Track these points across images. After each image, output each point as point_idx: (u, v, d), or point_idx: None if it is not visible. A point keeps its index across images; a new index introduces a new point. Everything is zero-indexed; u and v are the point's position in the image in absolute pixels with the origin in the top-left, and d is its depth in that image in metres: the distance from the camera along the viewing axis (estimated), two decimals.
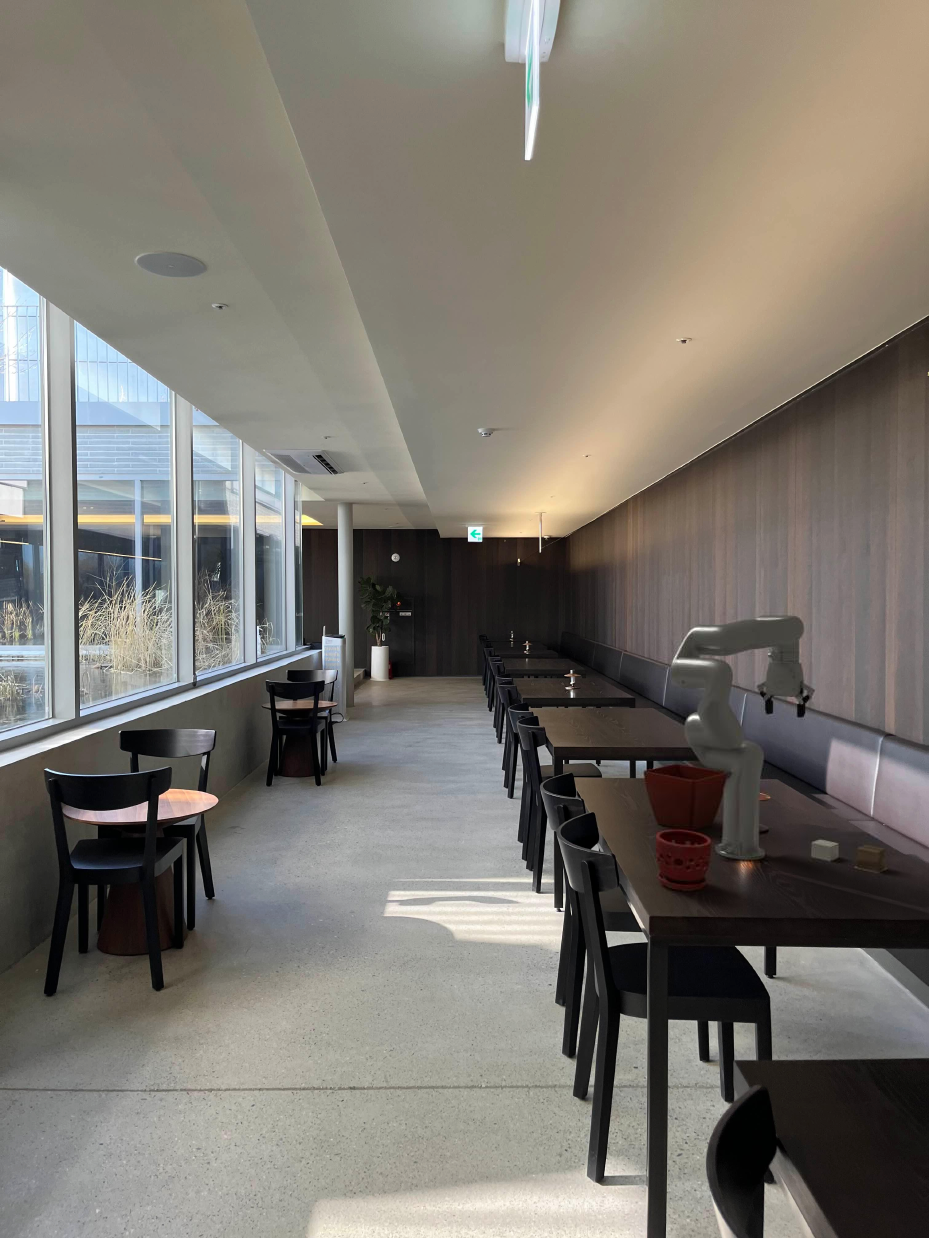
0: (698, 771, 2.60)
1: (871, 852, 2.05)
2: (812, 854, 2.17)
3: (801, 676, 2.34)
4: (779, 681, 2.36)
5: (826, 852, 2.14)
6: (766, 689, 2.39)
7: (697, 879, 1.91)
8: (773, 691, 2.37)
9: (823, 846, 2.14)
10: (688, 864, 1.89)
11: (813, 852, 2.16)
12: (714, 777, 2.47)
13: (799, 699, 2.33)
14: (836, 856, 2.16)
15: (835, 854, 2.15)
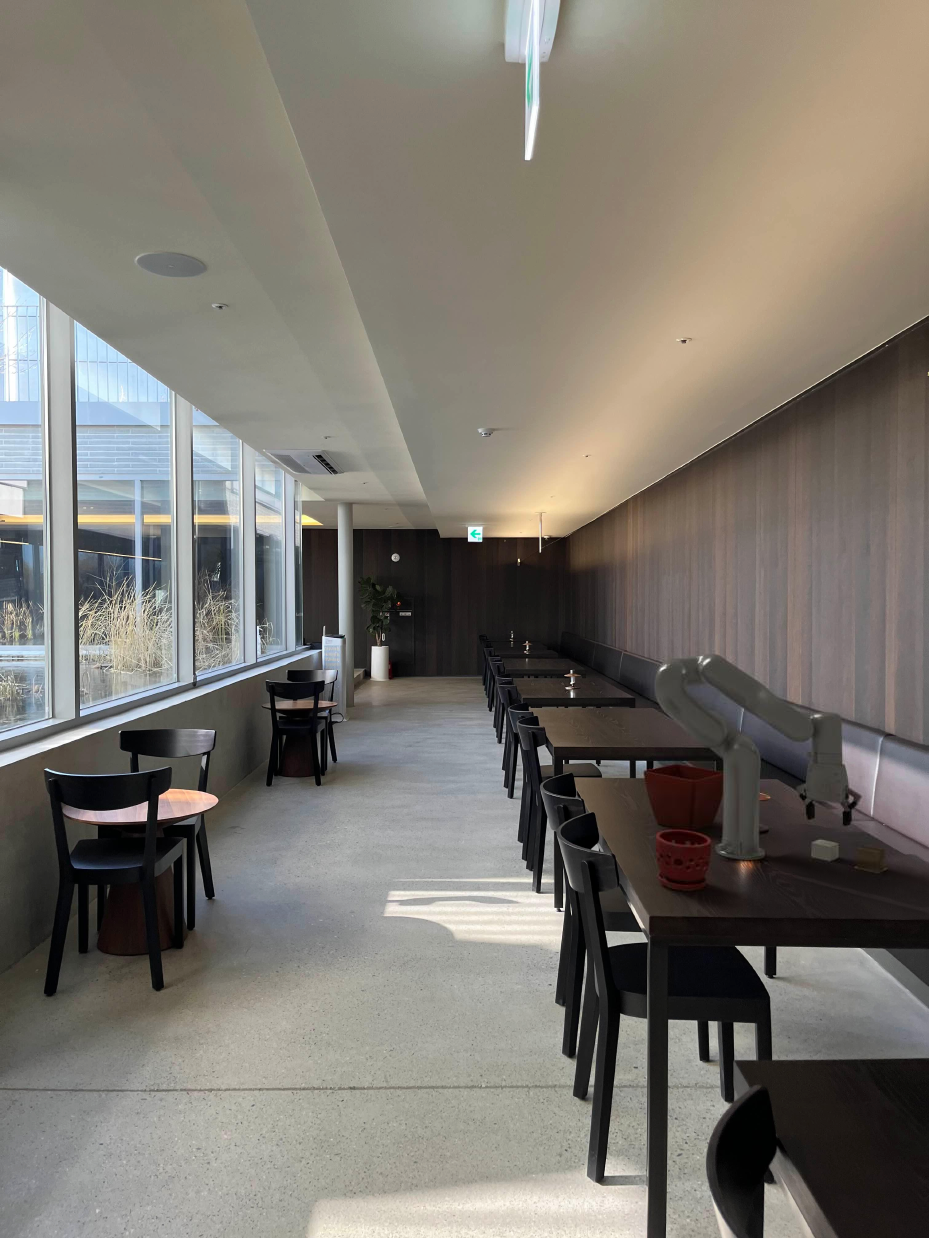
0: (698, 771, 2.60)
1: (871, 852, 2.05)
2: (812, 854, 2.17)
3: (846, 780, 2.13)
4: (822, 785, 2.15)
5: (826, 852, 2.14)
6: (807, 793, 2.18)
7: (697, 879, 1.91)
8: (815, 795, 2.16)
9: (823, 846, 2.14)
10: (688, 864, 1.89)
11: (813, 852, 2.16)
12: (714, 777, 2.47)
13: (845, 806, 2.12)
14: (836, 856, 2.16)
15: (835, 854, 2.15)
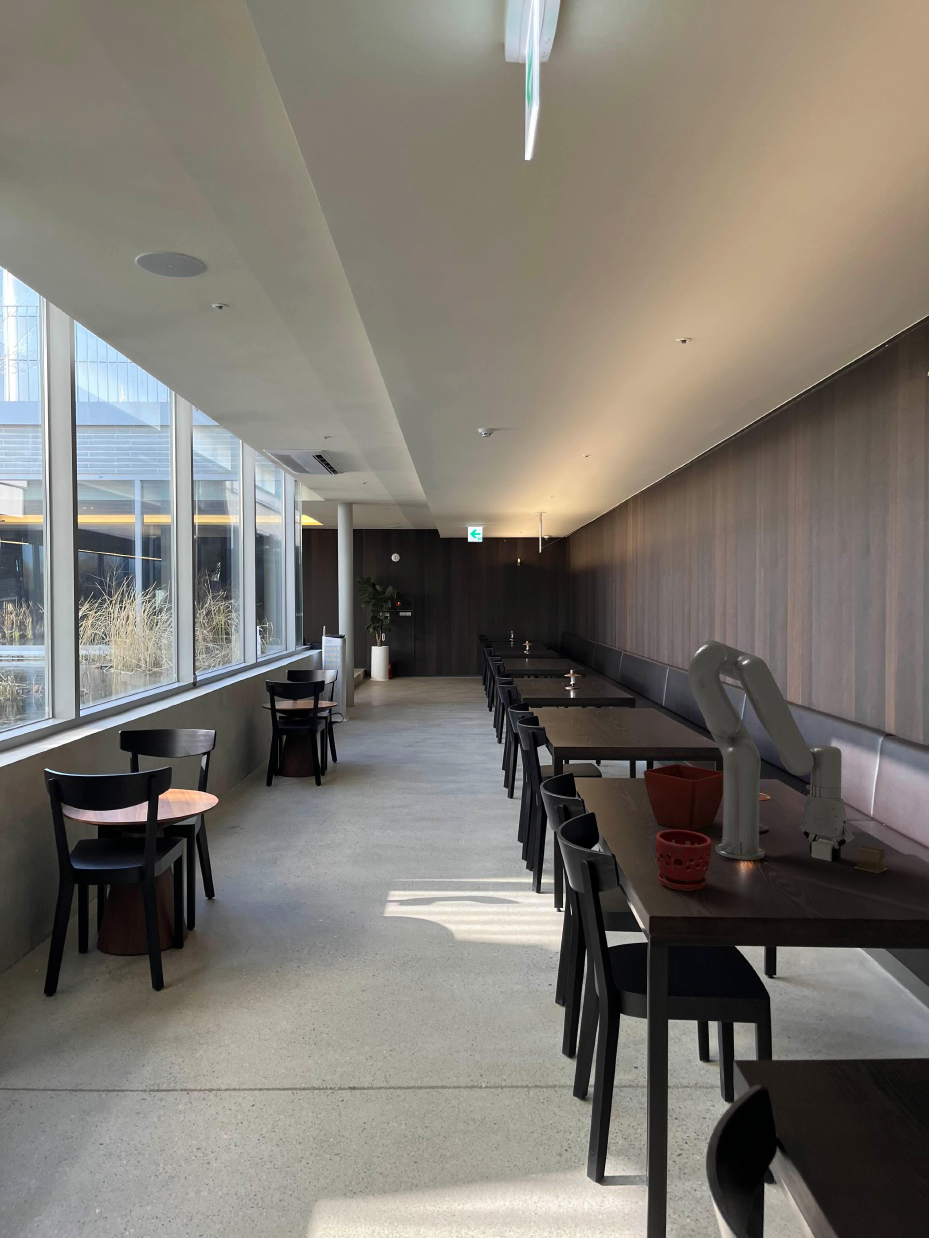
0: (698, 771, 2.60)
1: (871, 852, 2.05)
2: (812, 854, 2.17)
3: (844, 814, 2.13)
4: (819, 819, 2.15)
5: (826, 852, 2.14)
6: (804, 825, 2.18)
7: (697, 879, 1.91)
8: (812, 829, 2.16)
9: (823, 846, 2.14)
10: (688, 864, 1.89)
11: (813, 852, 2.16)
12: (714, 777, 2.47)
13: (835, 842, 2.13)
14: None
15: None
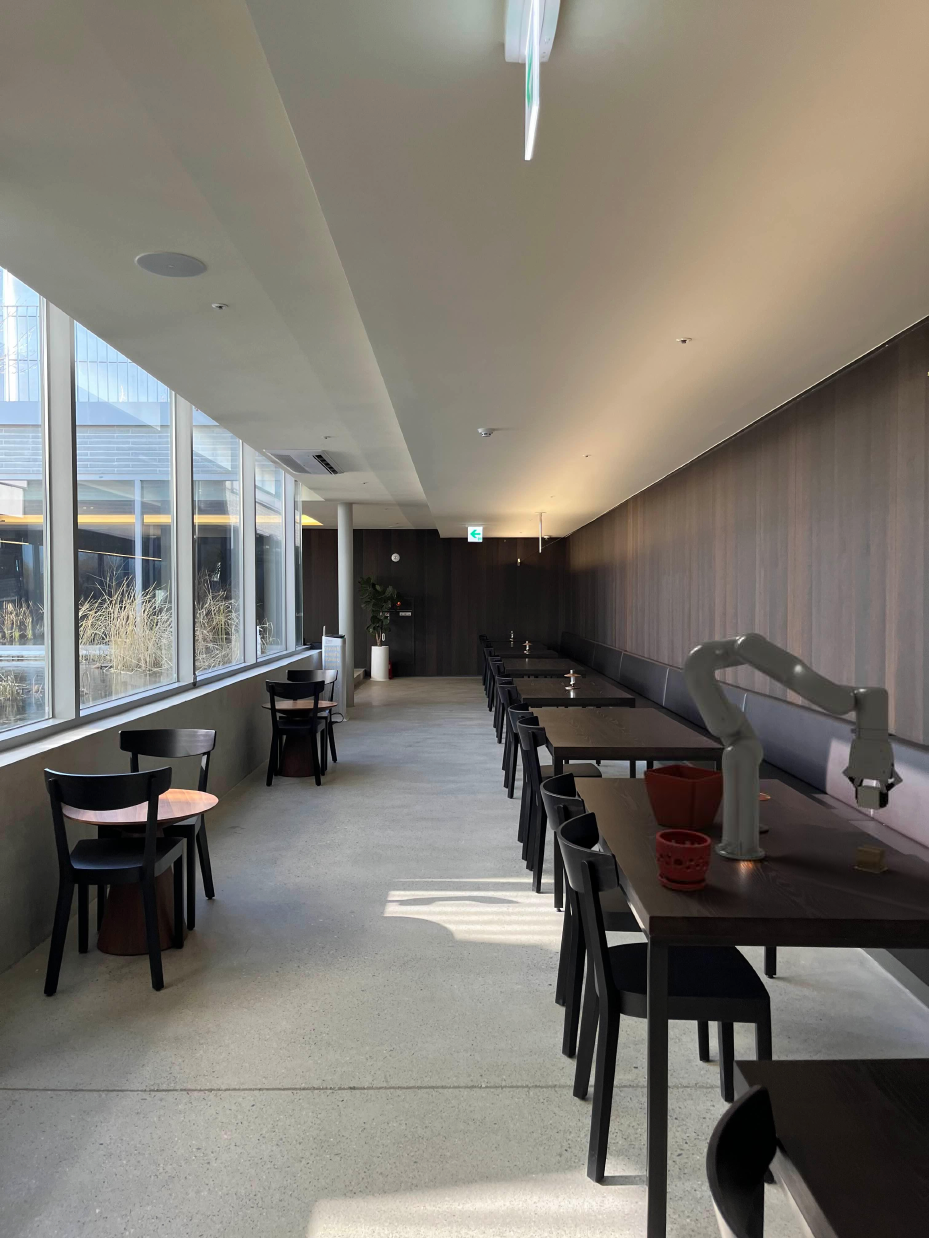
0: (698, 771, 2.60)
1: (871, 852, 2.05)
2: (858, 799, 2.08)
3: (892, 757, 2.04)
4: (866, 762, 2.06)
5: (873, 796, 2.05)
6: (849, 770, 2.09)
7: (697, 879, 1.91)
8: (858, 773, 2.07)
9: (870, 790, 2.05)
10: (688, 864, 1.89)
11: (859, 797, 2.07)
12: (714, 777, 2.47)
13: (883, 786, 2.04)
14: None
15: None
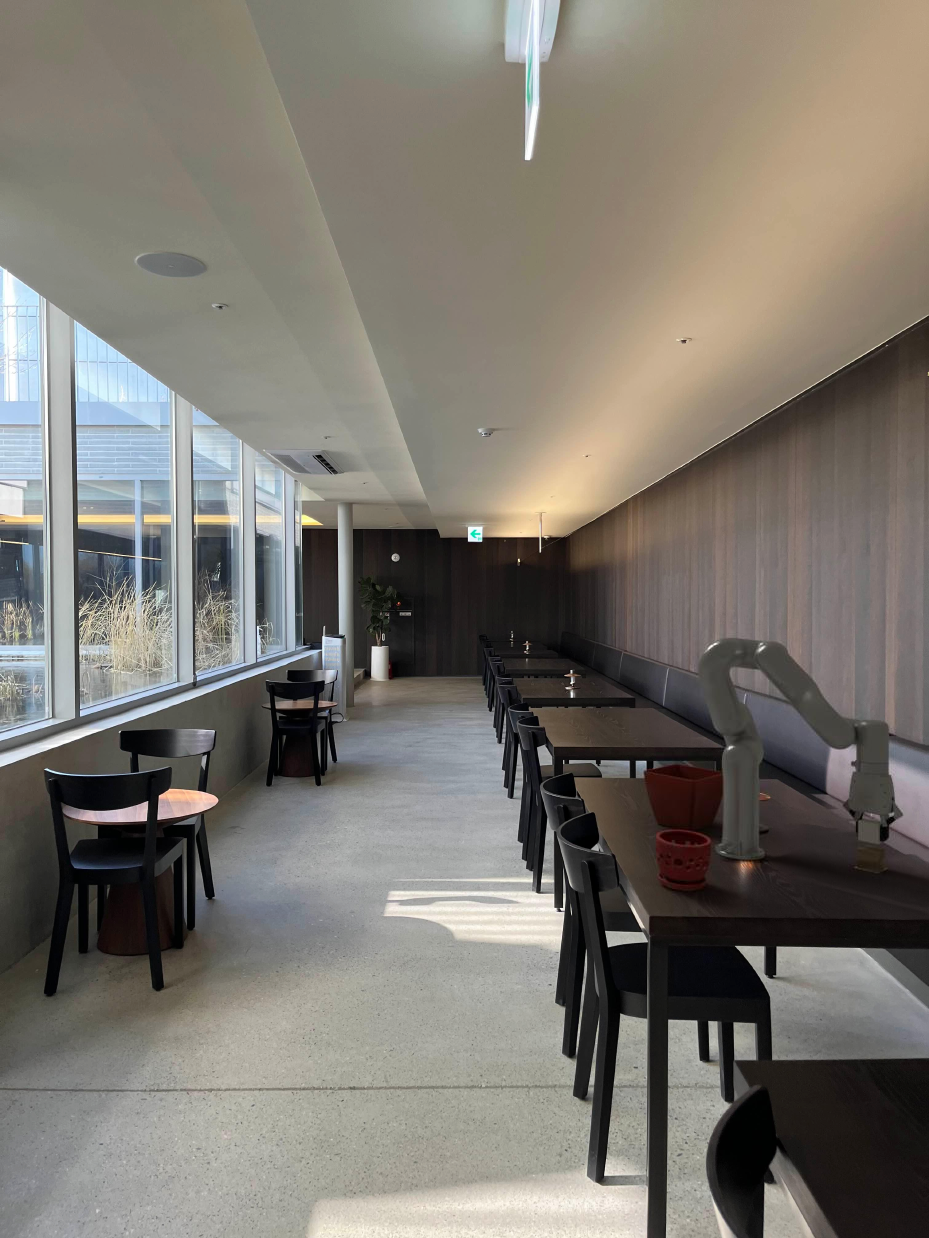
0: (698, 771, 2.60)
1: (871, 852, 2.05)
2: (859, 833, 2.07)
3: (892, 791, 2.04)
4: (866, 796, 2.06)
5: (874, 830, 2.05)
6: (850, 803, 2.09)
7: (697, 879, 1.91)
8: (859, 807, 2.07)
9: (871, 824, 2.05)
10: (688, 864, 1.89)
11: (860, 831, 2.07)
12: (714, 777, 2.47)
13: (883, 821, 2.04)
14: None
15: None
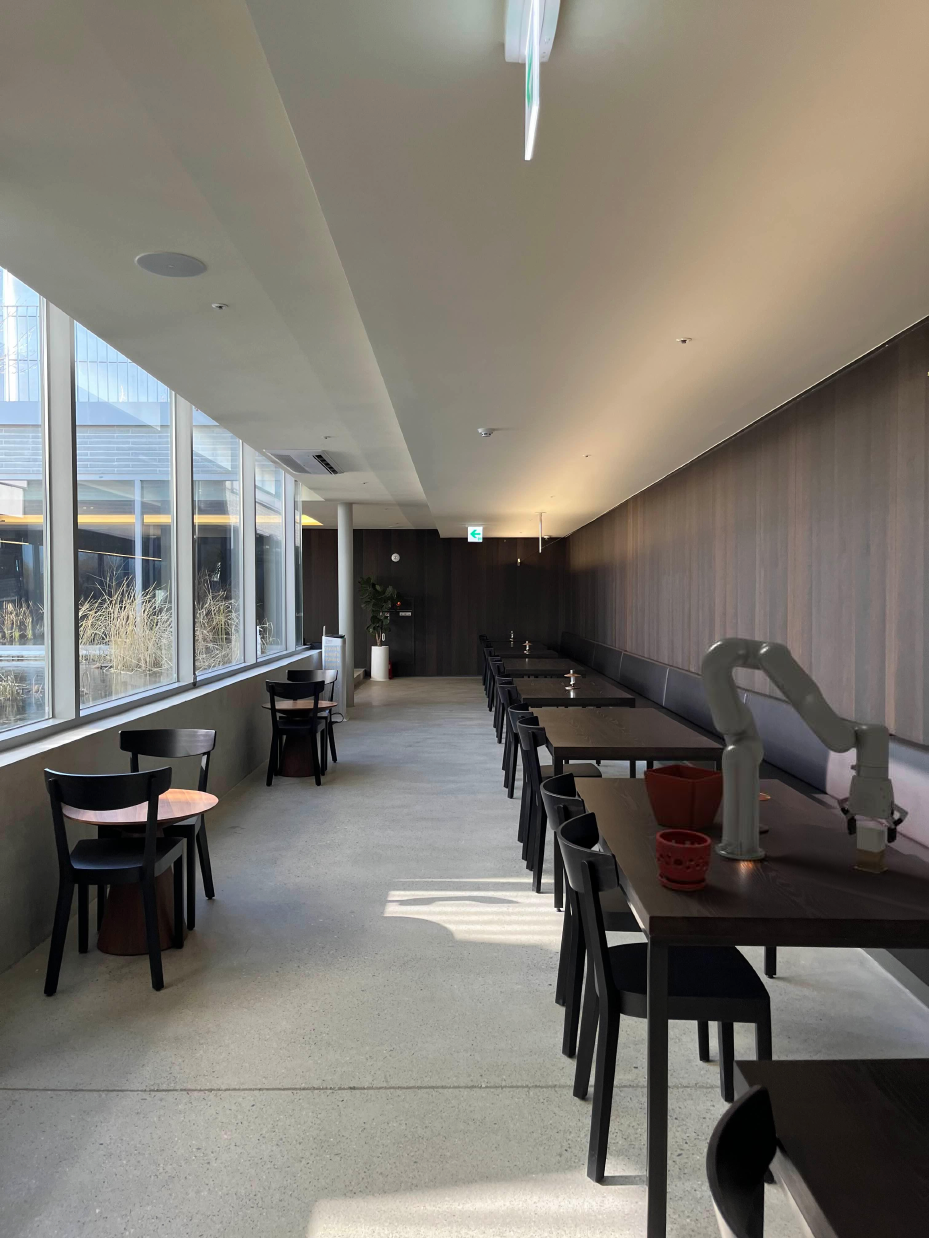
0: (698, 771, 2.60)
1: (871, 852, 2.05)
2: (858, 841, 2.08)
3: (892, 795, 2.04)
4: (866, 800, 2.06)
5: (873, 839, 2.05)
6: (849, 807, 2.09)
7: (697, 879, 1.91)
8: (858, 810, 2.07)
9: (870, 832, 2.05)
10: (688, 864, 1.89)
11: (859, 839, 2.07)
12: (714, 777, 2.47)
13: (890, 822, 2.03)
14: (883, 843, 2.07)
15: (882, 840, 2.06)
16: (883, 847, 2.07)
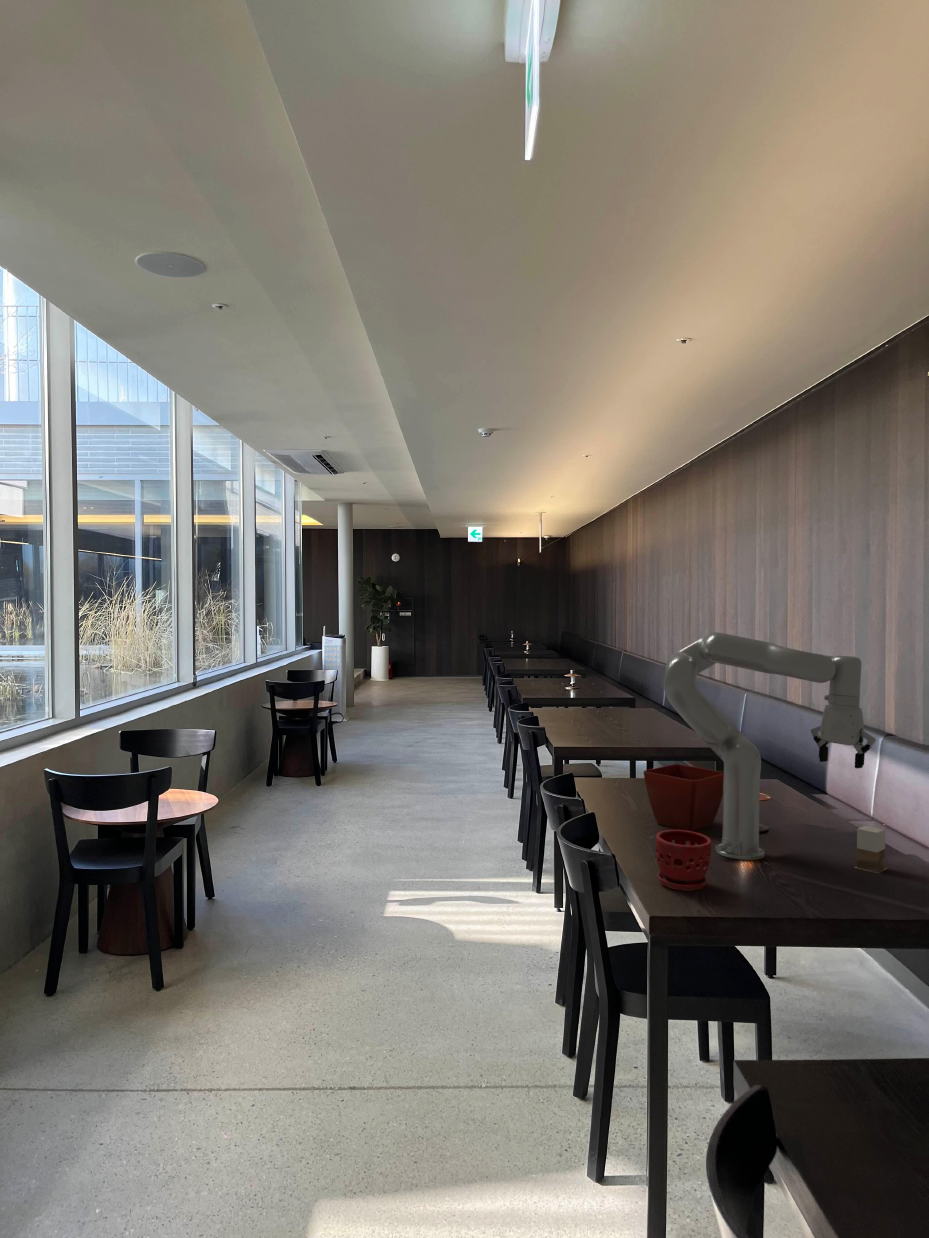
0: (698, 771, 2.60)
1: (871, 852, 2.05)
2: (858, 841, 2.08)
3: (861, 723, 2.13)
4: (836, 727, 2.15)
5: (873, 839, 2.05)
6: (821, 735, 2.19)
7: (697, 879, 1.91)
8: (829, 737, 2.17)
9: (870, 832, 2.05)
10: (688, 864, 1.89)
11: (859, 839, 2.07)
12: (714, 777, 2.47)
13: (858, 748, 2.12)
14: (883, 843, 2.07)
15: (882, 840, 2.06)
16: (883, 847, 2.07)
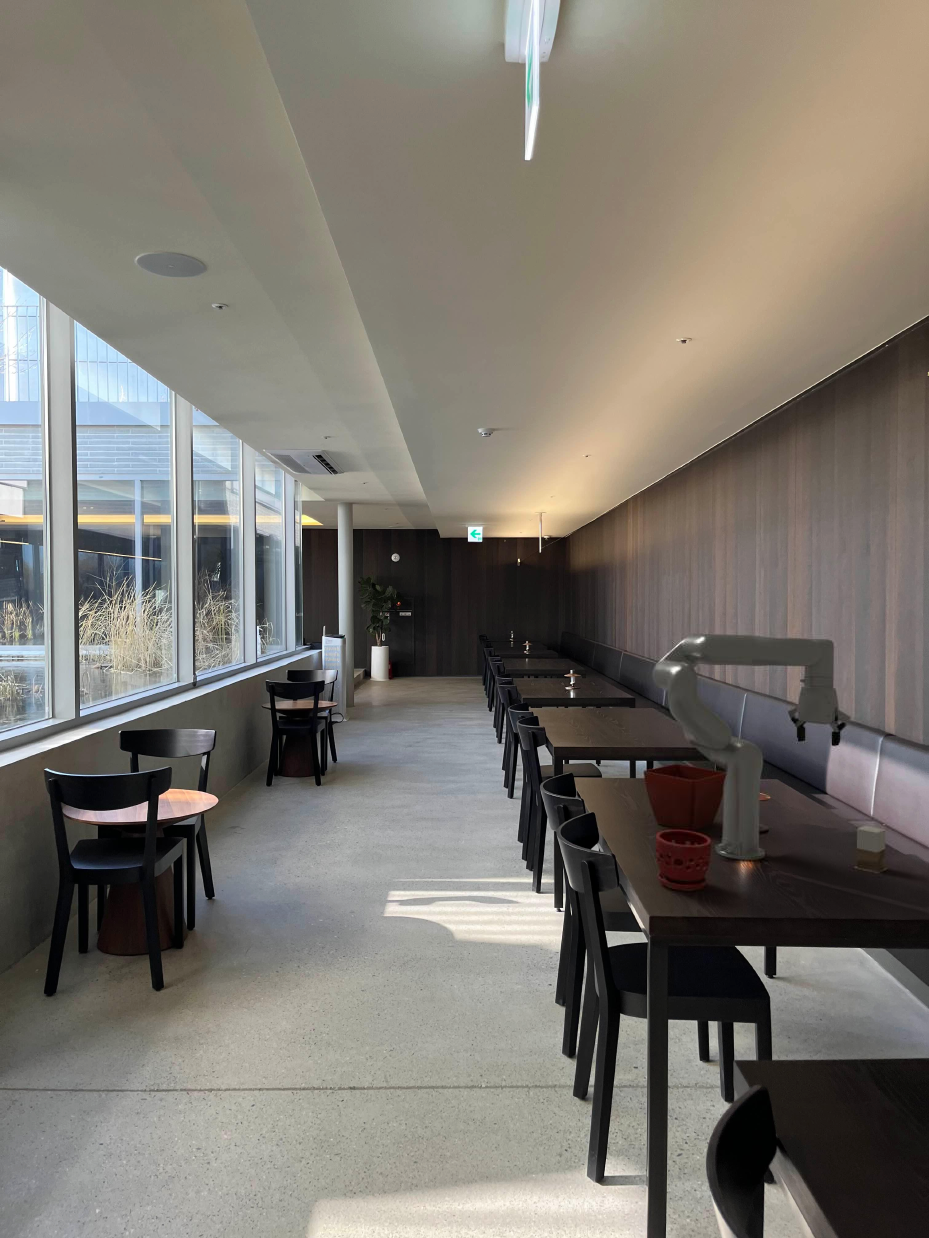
0: (698, 771, 2.60)
1: (871, 852, 2.05)
2: (858, 841, 2.08)
3: (836, 702, 2.22)
4: (813, 708, 2.24)
5: (873, 839, 2.05)
6: (798, 715, 2.28)
7: (697, 879, 1.91)
8: (806, 718, 2.26)
9: (870, 832, 2.05)
10: (688, 864, 1.89)
11: (859, 839, 2.07)
12: (714, 777, 2.47)
13: (834, 727, 2.22)
14: (883, 843, 2.07)
15: (882, 840, 2.06)
16: (883, 847, 2.07)
